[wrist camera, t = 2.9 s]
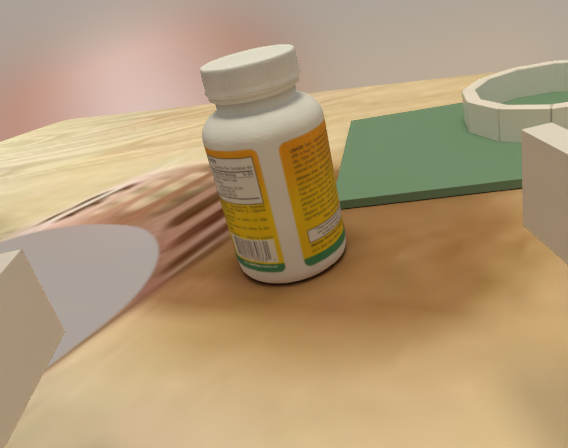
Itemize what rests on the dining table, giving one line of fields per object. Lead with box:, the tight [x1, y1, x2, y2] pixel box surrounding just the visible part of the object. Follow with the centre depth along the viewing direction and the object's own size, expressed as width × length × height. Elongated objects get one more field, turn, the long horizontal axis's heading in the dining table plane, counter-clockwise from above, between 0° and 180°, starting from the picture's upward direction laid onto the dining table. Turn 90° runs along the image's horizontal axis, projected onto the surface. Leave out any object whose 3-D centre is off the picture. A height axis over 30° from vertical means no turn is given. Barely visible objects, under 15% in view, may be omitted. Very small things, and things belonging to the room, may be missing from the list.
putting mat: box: [336, 91, 568, 209], centre depth 32 cm, size 19×15×1 cm
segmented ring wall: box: [462, 60, 568, 142], centre depth 32 cm, size 11×11×2 cm
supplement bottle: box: [200, 44, 346, 283], centre depth 23 cm, size 5×5×10 cm
